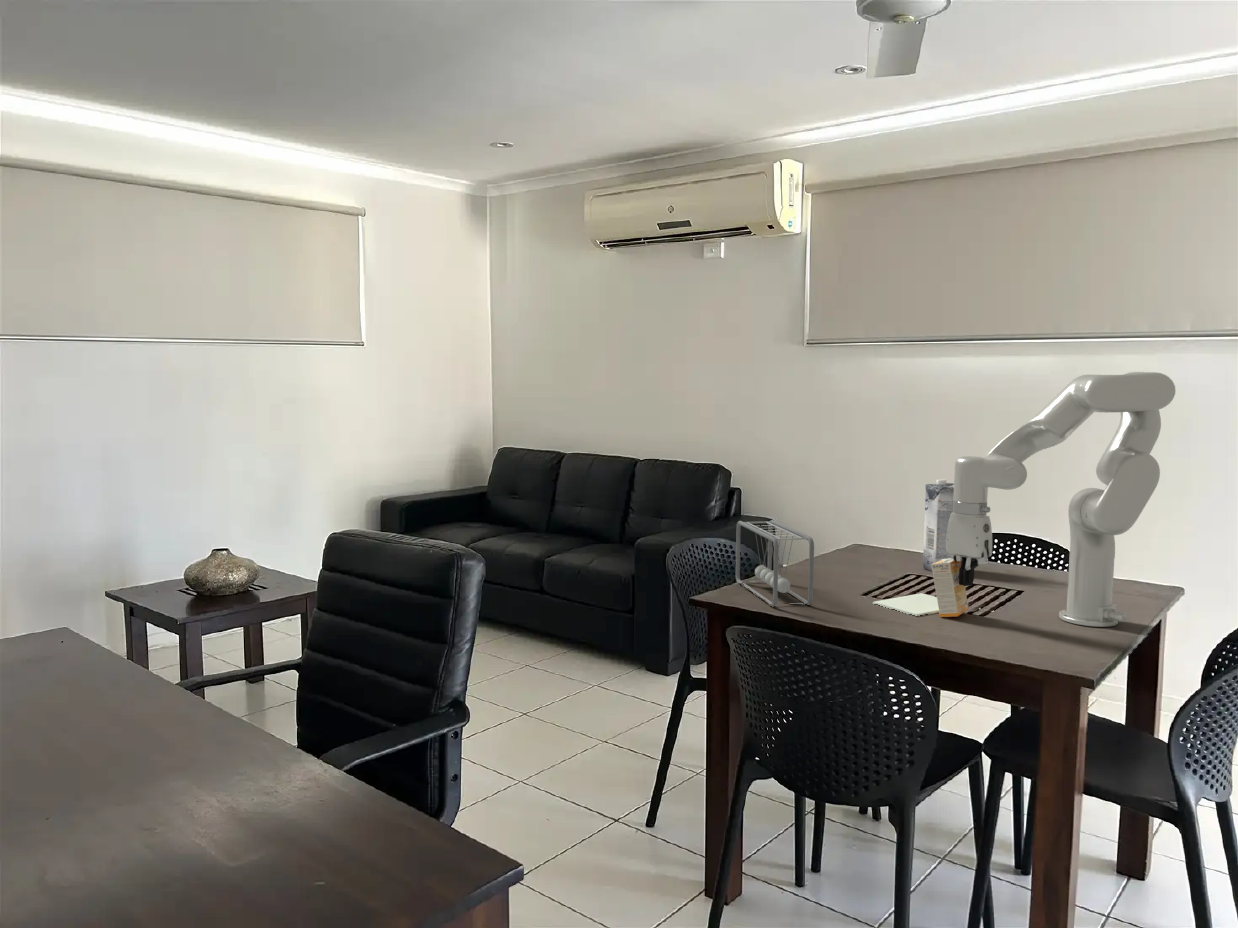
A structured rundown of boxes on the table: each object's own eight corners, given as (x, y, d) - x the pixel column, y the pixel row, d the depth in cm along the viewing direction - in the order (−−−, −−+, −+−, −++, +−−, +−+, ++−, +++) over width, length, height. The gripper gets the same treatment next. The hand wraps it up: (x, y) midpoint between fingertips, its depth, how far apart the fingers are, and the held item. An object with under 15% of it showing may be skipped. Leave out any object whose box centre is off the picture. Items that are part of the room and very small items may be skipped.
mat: (965, 607, 232) (965, 604, 232) (916, 616, 223) (916, 614, 223) (921, 595, 244) (921, 593, 244) (872, 604, 235) (872, 601, 235)
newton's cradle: (734, 582, 259) (736, 519, 257) (770, 580, 261) (771, 518, 259) (773, 609, 229) (775, 539, 227) (813, 607, 231) (815, 537, 230)
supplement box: (959, 616, 219) (950, 562, 220) (939, 617, 222) (930, 563, 223) (970, 609, 226) (961, 556, 226) (950, 610, 229) (941, 558, 229)
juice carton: (967, 571, 273) (971, 481, 270) (939, 574, 269) (942, 482, 266) (945, 565, 281) (949, 477, 278) (918, 568, 277) (921, 479, 274)
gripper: (1007, 512, 215) (1003, 589, 216) (953, 503, 227) (950, 576, 229) (986, 514, 211) (982, 593, 213) (933, 505, 223) (930, 580, 225)
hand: (965, 584), depth 221 cm, fingers closed
